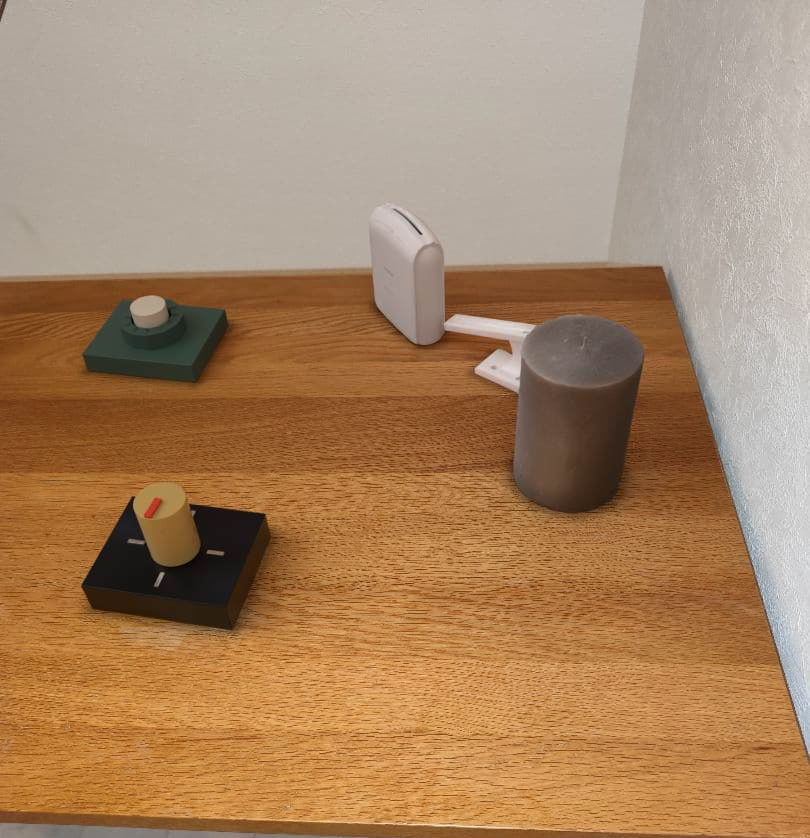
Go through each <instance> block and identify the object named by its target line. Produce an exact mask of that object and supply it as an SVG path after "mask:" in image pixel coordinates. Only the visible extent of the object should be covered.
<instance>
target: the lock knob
mask: <svg viewBox="0 0 810 838" xmlns="http://www.w3.org/2000/svg"><path fill="white" fill-rule="evenodd" d="M189 504H190V503H189V500H188V497H187V494H186V491H185V489H184V488H183V487H182V486H180V485H179V484H177V483H174V482H169V481H160V482H155V483H151V484H149V485H147V486H145V487H144V488H142V489H141V490H140V491H138V493H137V494H136V496H135V499H134V502H133V508H134V511H135V514H136V516H137V519H138V522H139V524H140V527H141V530H142V532H143V535H144V538H145V540H146V543H147V545H148V548H149V551H150V553H151V556H152V558H153V560H154V561H155V562H157V563H158V564H160V565H163V566H169V567H173V566H179V565H182V564H185V563H187V562H189V561H190V560H192V559H193V558H194V557H195V556H196V555H197V553H198V552H199V550H200V546H201V542H200V538H199V535H198V532H197V529H196V525H195V522H194V519H193V516H192V513H191V509H190V506H189Z"/></svg>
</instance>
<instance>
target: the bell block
mask: <svg viewBox="0 0 810 838" xmlns="http://www.w3.org/2000/svg"><path fill="white" fill-rule="evenodd" d="M163 299H164V300H165V303H166V306H167V310H168V314H169V320H168V321H167V322H166V323H164V324H162V325H160V326H158V327H153V328H148V329H147V328H138V327H137V326H136V325H135V324H134V320H133V317H132V314H131V311H130V306H131V304H132V303H133V302H134V301H135V300H129V299H121V300H120V301H119V303H118V304H117V306H115V308H114V309H113V310H112V312H111V314H110V315H109V317H108V318H107V319H106V321H105V322H104V323H103V324H102V326H101V327H100V328H99V330H98V331H97V332H96V334H95V335H94V337H93V338H92V340H91V341H90V342H89V344H88V345H87V346H86V348H85V349H84V350H83V352H82V353H81V355H82V358H83V361H84V364H85V366H86V369H87V371H88V372H92V373H93V372H94V373H104V374H112V375H121V376H122V375H123V376H131V377H141V378H149V379H150V378H151V379H159V380H168V381H179V382H188V383H195V384H196V383H197V382H198V380H199V379H200V377H201V375H202V373H203V371H204V370H205V368H206V366H207V364H208V363H209V361H210V359H211V357H212V356H213V354H214V352H215V351H216V349H217V347H218V345H219V343H220V342H221V340H222V339H223V336H224V335H225V333H226V332H227V329H228V328H229V322H228V317H227V313H226V312H227V311H226V309H225V308H218V307H217V308H216V307H215V308H214V307H205V306H204V307H203V306H195V305H194V306H193V305H183V304H179V303H177V302H176V301H174V300H172V299H167V298H163Z"/></svg>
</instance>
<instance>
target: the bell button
mask: <svg viewBox="0 0 810 838" xmlns="http://www.w3.org/2000/svg"><path fill="white" fill-rule="evenodd" d="M164 299H165V298H163V297H161V296H158V295H145V296H141V297H139V298H137V299H135V300H133V301H134V302H133V303H132V304H131V306H130V311H131V314H132V317H133V320H134V324H135V325H136V326H137V327H138V328H147V329H148V328H153V327H158V326H160V325H162V324H164V323H166V322H167V321H168V320H169V314H168V310H167V306H166V303H165V300H164Z"/></svg>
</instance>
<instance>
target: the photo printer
mask: <svg viewBox="0 0 810 838" xmlns="http://www.w3.org/2000/svg"><path fill="white" fill-rule="evenodd" d="M368 232H369V246H370V259H371V272H372V285H373V295H374V297H373V298H374V301H375V305H376V307H377V308H378V310H379V311H380V312H381V313H382V314H383V316H384V317H385V318H386V319H387V320H388V321H389V322H390V323H391V324H392V325H393V326H394V327H395V328H396V329H397V330H398V331H399V332H400V333H401V334H403V336H405V338H407V339H408V340H409V341H410V342H412V343H413V344H414V345H420V346H428V345H433V344H434V343H437V342H439V341H440V340H441V338H442V336H443V335H444V334H445V331H446V330H445V328H444V323H445V322H446V309H445V307H446V305H445V304H446V302H445V301H446V299H445V292H446V291H445V252H444V249H443V246H442V244H441V242H440V240H439V238H438V237H437V235H436V234H435V233H434V231H433V230H432V229H431V228H430V227H429V226H428V224H427V223H426V222H425V221H424V220H423V219H421V217H419V216H418V215H417V214H416V213H414V212H413V211H412V210H410V209H408V208H406V207H405V206H403V205H401V204H396V203H392V202H387V203H385V204H384V205H378V206H377V207H376V208H375V209H374V210H373V212H372V213H371V215H370V217H369V222H368Z"/></svg>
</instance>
